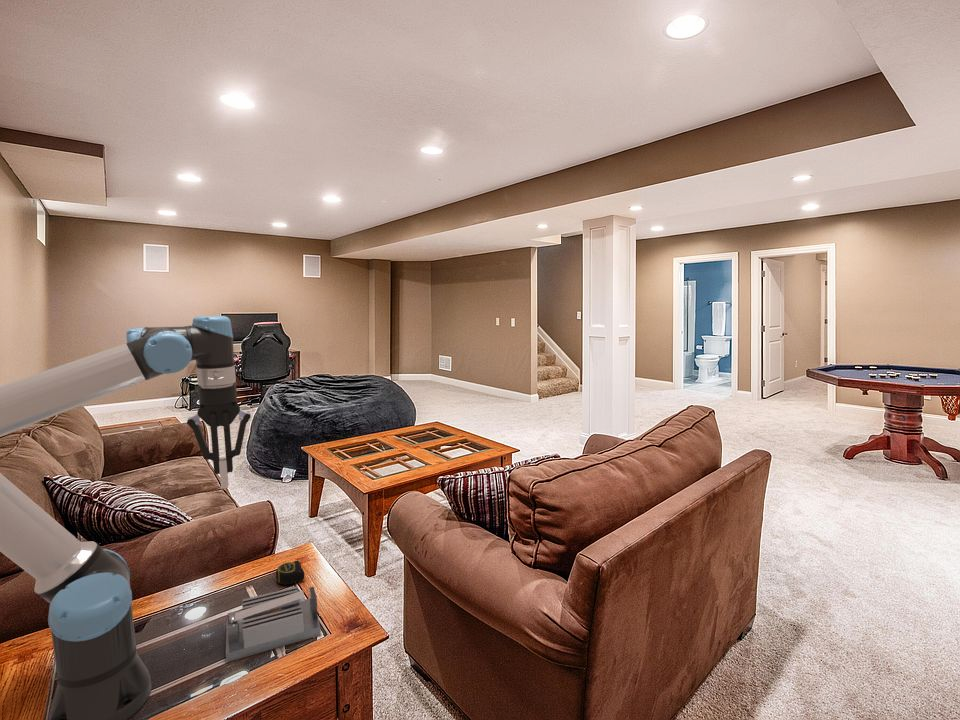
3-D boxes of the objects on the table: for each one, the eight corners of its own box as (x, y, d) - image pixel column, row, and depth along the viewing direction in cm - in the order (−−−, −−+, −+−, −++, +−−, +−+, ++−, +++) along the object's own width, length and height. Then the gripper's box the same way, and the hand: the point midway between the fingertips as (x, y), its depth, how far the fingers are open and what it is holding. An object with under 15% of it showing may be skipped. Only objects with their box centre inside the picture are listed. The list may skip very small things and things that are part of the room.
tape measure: (305, 583, 132) (304, 570, 132) (277, 590, 129) (277, 576, 128) (301, 570, 138) (300, 557, 137) (274, 577, 135) (274, 564, 134)
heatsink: (226, 662, 103) (223, 631, 102) (227, 627, 114) (225, 599, 113) (320, 635, 112) (319, 606, 111) (313, 605, 122) (312, 578, 121)
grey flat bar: (229, 627, 107) (228, 621, 107) (229, 619, 110) (228, 613, 110) (305, 601, 114) (304, 596, 114) (303, 594, 116) (302, 589, 116)
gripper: (181, 390, 105) (190, 497, 108) (249, 385, 110) (256, 487, 113) (185, 384, 111) (193, 485, 114) (249, 380, 117) (255, 476, 120)
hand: (224, 486), depth 114 cm, fingers closed
